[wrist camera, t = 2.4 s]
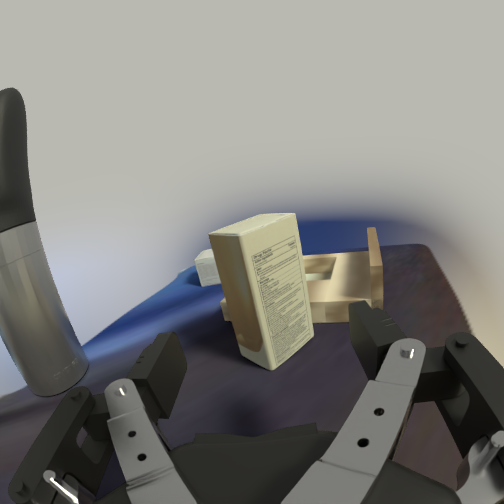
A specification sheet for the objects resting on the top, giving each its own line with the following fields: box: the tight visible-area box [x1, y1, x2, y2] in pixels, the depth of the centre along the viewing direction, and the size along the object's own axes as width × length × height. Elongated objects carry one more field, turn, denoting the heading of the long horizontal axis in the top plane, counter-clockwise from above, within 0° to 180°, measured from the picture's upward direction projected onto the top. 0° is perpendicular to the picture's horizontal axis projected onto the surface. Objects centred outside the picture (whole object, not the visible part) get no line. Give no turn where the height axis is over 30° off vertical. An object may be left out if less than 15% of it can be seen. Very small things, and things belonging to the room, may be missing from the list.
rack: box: [220, 227, 383, 323], centre depth 35 cm, size 18×15×6 cm
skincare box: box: [208, 213, 314, 370], centre depth 24 cm, size 6×4×12 cm
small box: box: [194, 249, 221, 287], centre depth 47 cm, size 6×6×5 cm
